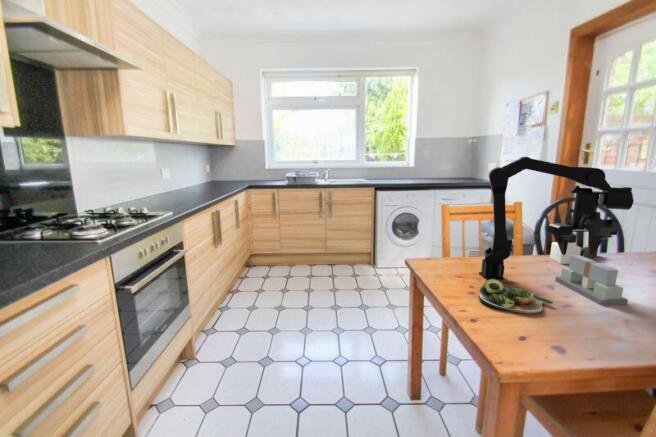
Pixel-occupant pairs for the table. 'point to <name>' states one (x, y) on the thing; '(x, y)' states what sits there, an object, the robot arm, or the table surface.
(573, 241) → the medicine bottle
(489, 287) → the salad plate
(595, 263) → the banded grey bar
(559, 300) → the table surface
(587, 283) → the display stand
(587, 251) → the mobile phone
